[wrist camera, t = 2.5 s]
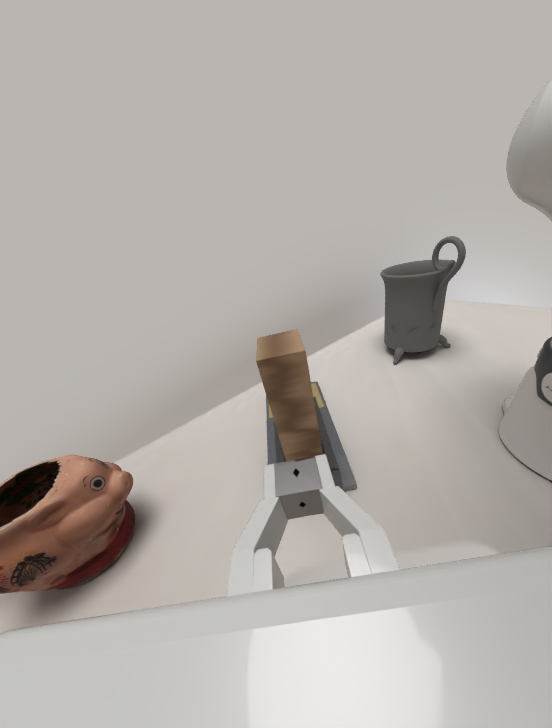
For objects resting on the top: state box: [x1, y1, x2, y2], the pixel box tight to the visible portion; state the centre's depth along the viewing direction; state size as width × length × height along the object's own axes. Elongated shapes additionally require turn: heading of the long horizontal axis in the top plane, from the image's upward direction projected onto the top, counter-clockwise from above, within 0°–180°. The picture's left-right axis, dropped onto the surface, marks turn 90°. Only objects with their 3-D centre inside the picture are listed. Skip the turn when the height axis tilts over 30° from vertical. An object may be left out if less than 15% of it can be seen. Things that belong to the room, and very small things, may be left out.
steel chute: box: [266, 382, 357, 491], centre depth 41 cm, size 12×25×4 cm, turn 3°
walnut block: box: [256, 329, 323, 462], centre depth 30 cm, size 5×6×20 cm
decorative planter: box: [0, 455, 135, 594], centre depth 28 cm, size 20×12×14 cm, turn 118°
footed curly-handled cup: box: [381, 236, 466, 364], centre depth 51 cm, size 19×15×25 cm
